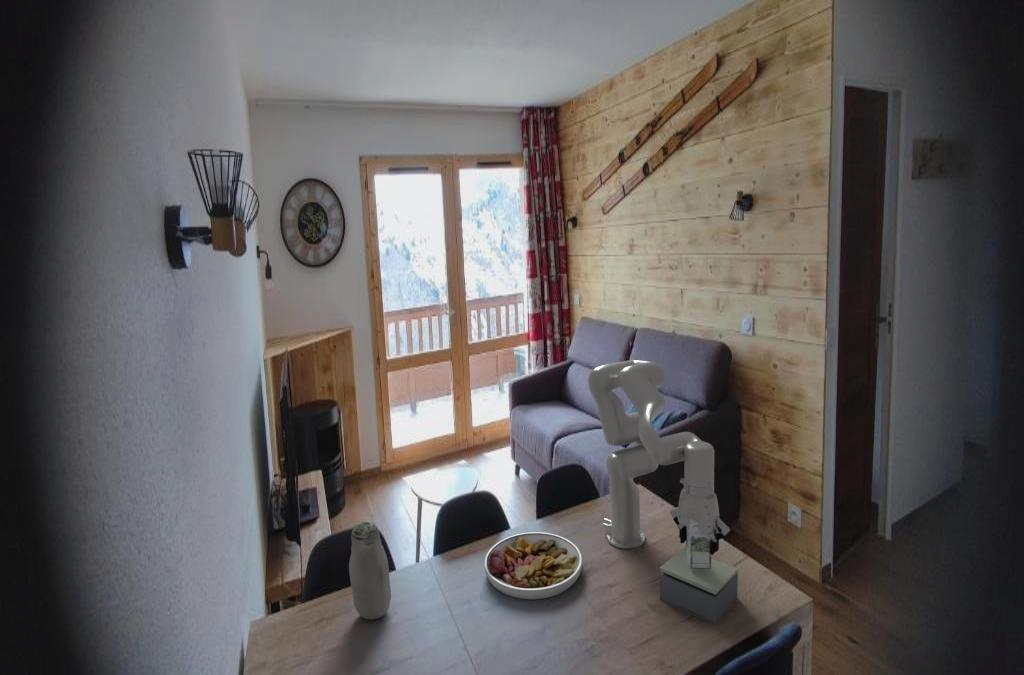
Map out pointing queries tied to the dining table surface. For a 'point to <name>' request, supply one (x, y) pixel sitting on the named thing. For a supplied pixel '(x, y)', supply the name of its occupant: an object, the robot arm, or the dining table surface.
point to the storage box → (698, 597)
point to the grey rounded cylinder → (369, 572)
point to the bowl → (533, 565)
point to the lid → (699, 573)
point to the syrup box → (697, 547)
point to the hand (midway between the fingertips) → (698, 546)
